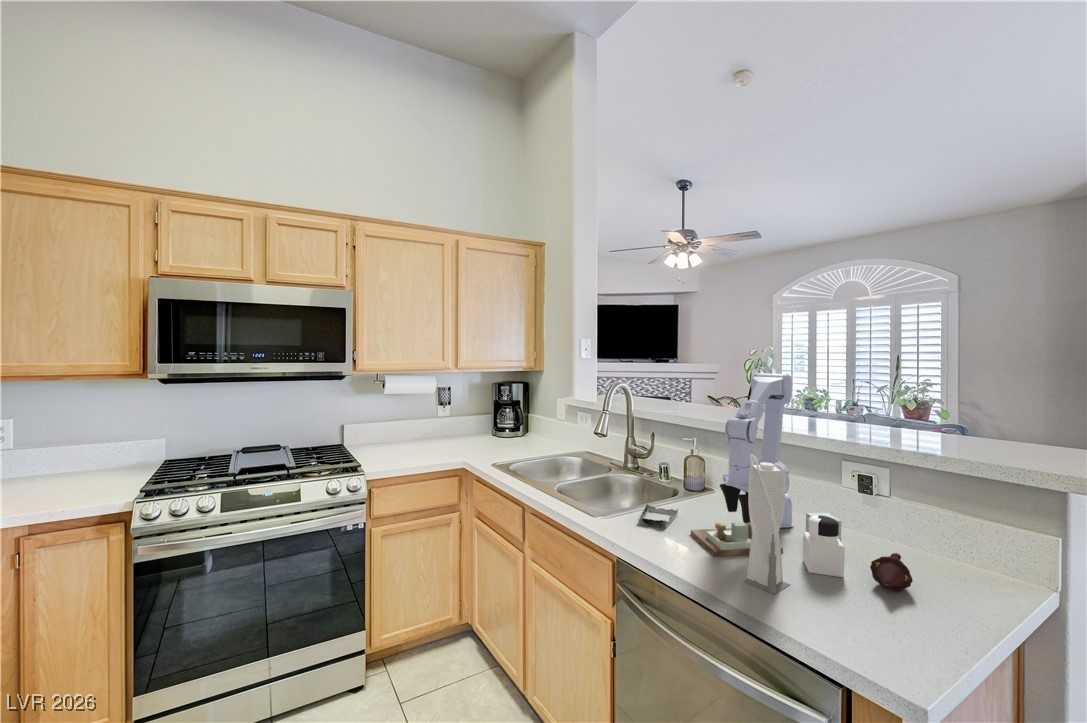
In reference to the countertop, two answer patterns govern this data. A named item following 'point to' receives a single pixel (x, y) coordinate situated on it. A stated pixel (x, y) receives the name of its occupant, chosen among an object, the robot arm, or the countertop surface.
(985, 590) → the countertop surface
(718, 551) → the board
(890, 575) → the dark maroon knobbed disc
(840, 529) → the skincare box
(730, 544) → the panel
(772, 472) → the skyscraper
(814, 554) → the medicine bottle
